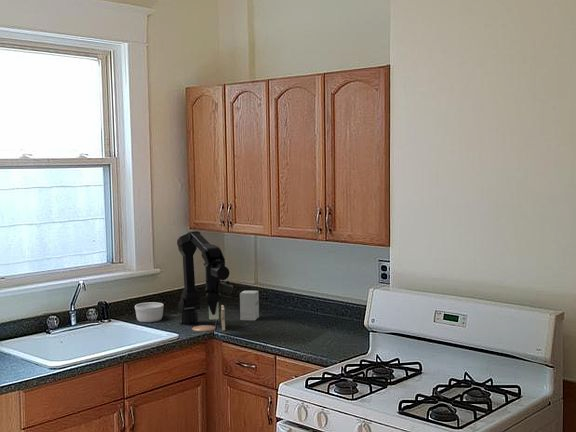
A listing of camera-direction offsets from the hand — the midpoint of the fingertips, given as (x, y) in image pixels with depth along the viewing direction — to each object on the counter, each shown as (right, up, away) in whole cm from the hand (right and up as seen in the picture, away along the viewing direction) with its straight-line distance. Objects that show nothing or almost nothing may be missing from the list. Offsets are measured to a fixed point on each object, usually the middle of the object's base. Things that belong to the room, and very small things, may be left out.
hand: (213, 313), depth 316 cm
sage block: (0, -2, 0) cm, 2 cm away
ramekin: (-33, -7, +32) cm, 46 cm away
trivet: (-5, -8, +11) cm, 15 cm away
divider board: (+3, -8, +12) cm, 15 cm away
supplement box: (+14, -6, +29) cm, 33 cm away
